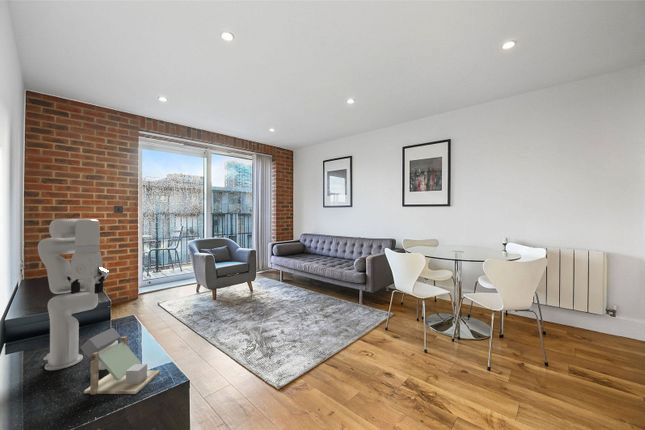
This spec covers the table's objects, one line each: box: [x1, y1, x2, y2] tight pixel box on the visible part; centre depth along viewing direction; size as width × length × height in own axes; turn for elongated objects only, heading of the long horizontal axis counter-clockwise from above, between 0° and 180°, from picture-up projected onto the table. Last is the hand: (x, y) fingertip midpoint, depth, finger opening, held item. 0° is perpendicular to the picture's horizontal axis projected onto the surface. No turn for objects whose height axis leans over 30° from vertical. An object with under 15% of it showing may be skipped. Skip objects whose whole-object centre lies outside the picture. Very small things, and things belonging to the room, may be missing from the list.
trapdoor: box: [79, 327, 142, 381], centre depth 108 cm, size 19×12×5 cm
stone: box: [126, 363, 148, 384], centre depth 107 cm, size 5×5×5 cm
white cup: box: [99, 339, 119, 371], centre depth 120 cm, size 8×8×10 cm
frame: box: [83, 336, 161, 395], centre depth 107 cm, size 20×17×15 cm
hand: (87, 292), depth 107 cm, fingers open, 9 cm apart
